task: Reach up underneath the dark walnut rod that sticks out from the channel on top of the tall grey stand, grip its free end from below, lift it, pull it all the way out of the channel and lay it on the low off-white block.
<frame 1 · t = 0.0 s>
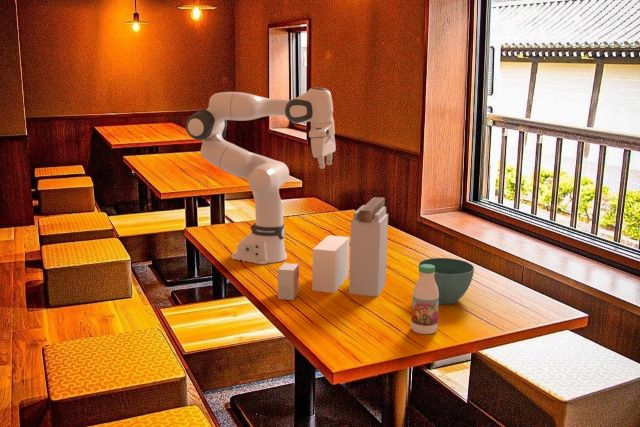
hand: (325, 166, 253), 39 cm above the table, tool pointing down, fingers open, 8 cm apart
milk bottle: (423, 330, 197), on the table
green bowl: (444, 300, 223), on the table
rod: (372, 214, 230), point 26 cm above the table, touching stand
stand: (367, 288, 233), on the table
small box: (288, 296, 224), on the table
block: (330, 282, 238), on the table
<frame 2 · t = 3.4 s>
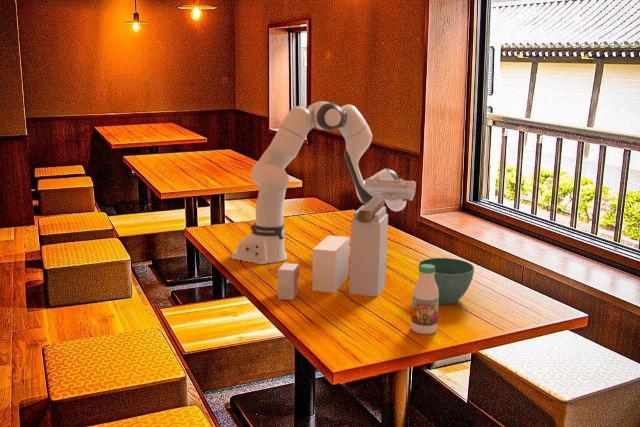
hand: (387, 179, 254), 34 cm above the table, tool pointing upward, fingers open, 8 cm apart
nothing on the table moved.
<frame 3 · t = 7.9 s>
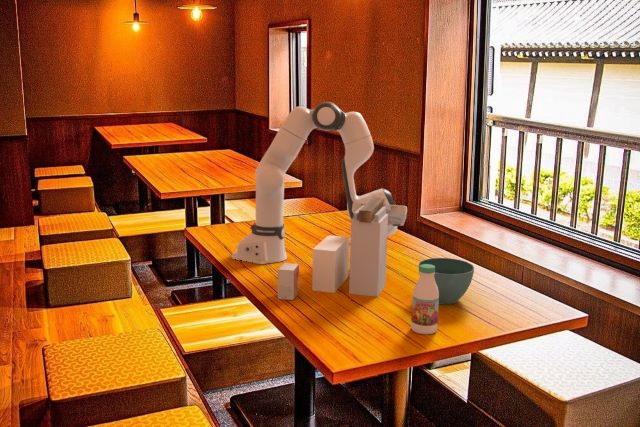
hand: (376, 204, 236), 28 cm above the table, tool pointing upward, fingers closed on rod, 4 cm apart
rod: (372, 214, 230), point 26 cm above the table, touching gripper, stand
everything else where it was.
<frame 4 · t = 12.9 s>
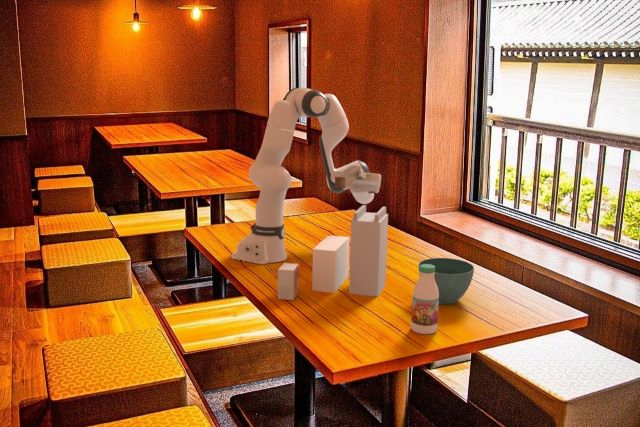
hand: (352, 171, 258), 36 cm above the table, tool pointing upward, fingers closed on rod, 4 cm apart
rod: (348, 181, 252), point 34 cm above the table, touching gripper
everything else where it was.
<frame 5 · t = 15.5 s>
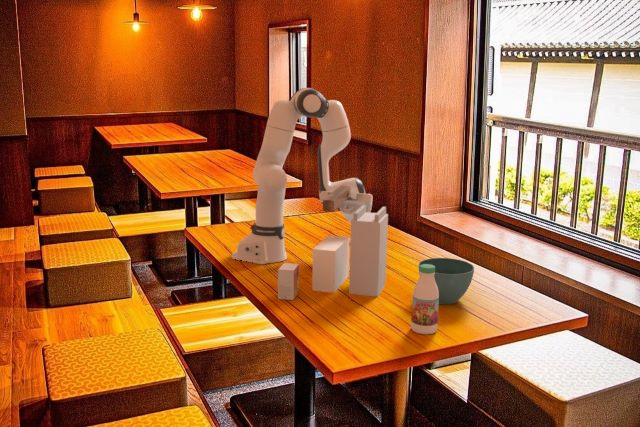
hand: (342, 192, 244), 31 cm above the table, tool pointing upward, fingers closed on rod, 4 cm apart
rod: (337, 203, 238), point 28 cm above the table, touching gripper
everything else where it was.
when the fingers open (19 cm above the table, at t = 17.8 s): rod drops 2 cm, resting on block.
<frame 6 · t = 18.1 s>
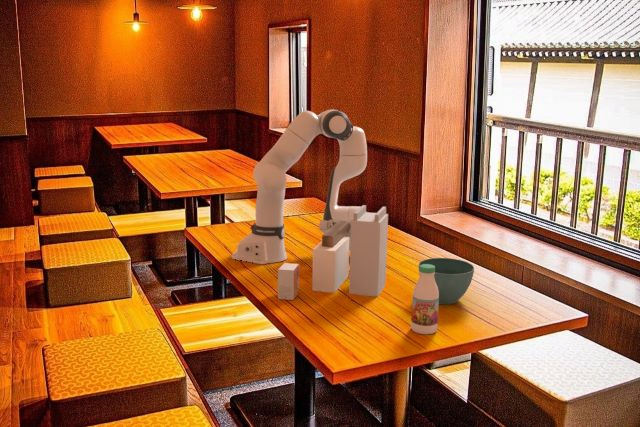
hand: (341, 222, 246), 19 cm above the table, tool pointing upward, fingers open, 7 cm apart
rod: (336, 238, 241), point 15 cm above the table, touching block
everything else where it was.
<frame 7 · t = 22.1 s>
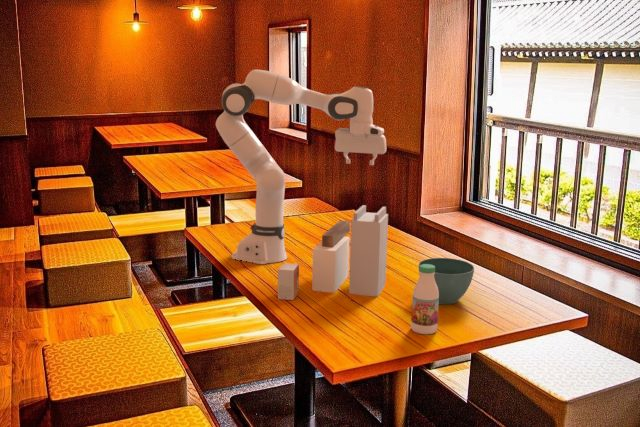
hand: (359, 164, 259), 39 cm above the table, tool pointing down, fingers open, 8 cm apart
nothing on the table moved.
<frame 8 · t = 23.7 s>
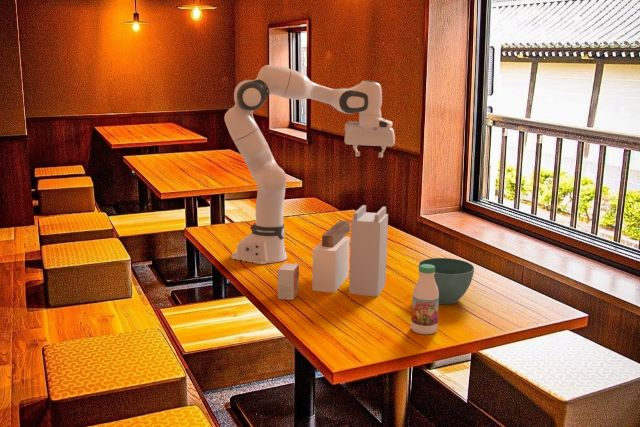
hand: (369, 156, 266), 41 cm above the table, tool pointing down, fingers open, 8 cm apart
nothing on the table moved.
at the end: rod inside the target area on the block (5.2 cm from its centre), point 15.0 cm above the block's base; the gripper is holding nothing; rod touching block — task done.
